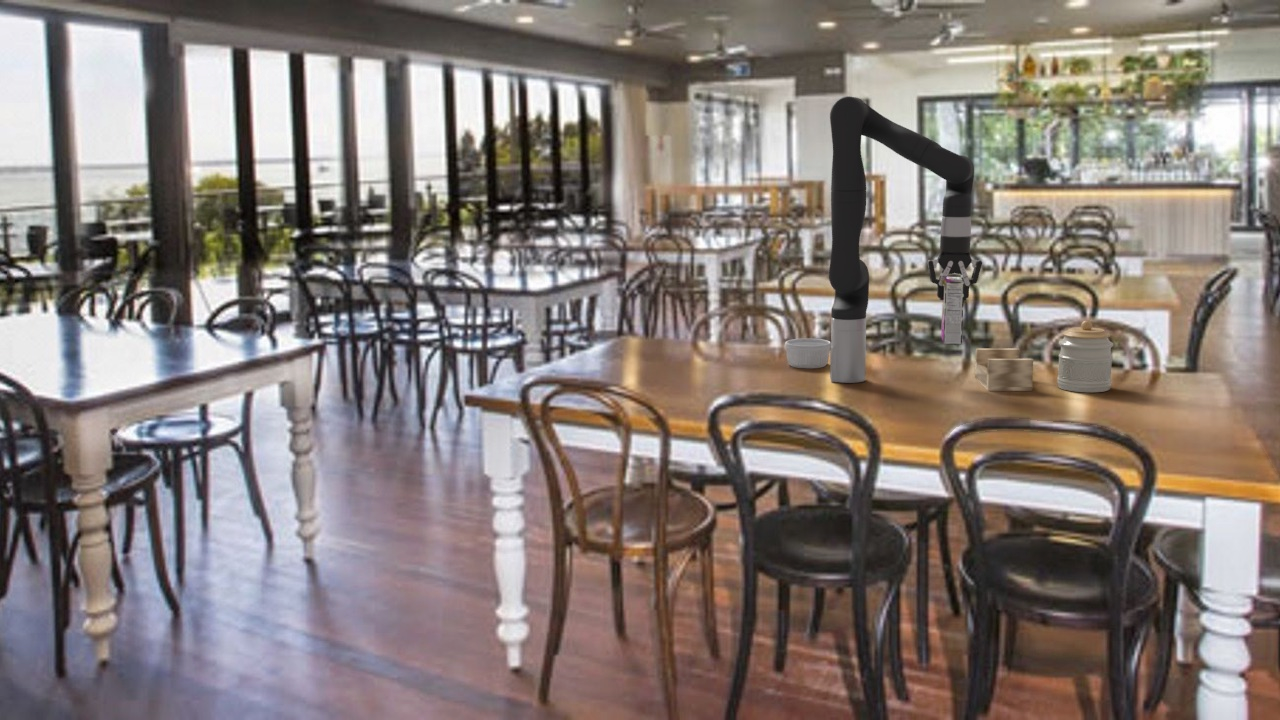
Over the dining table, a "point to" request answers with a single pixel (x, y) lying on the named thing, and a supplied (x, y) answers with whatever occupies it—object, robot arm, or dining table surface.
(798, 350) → the ramekin
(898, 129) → the robot arm
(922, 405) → the dining table surface
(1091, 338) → the jar
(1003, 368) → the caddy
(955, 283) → the candy bar box
